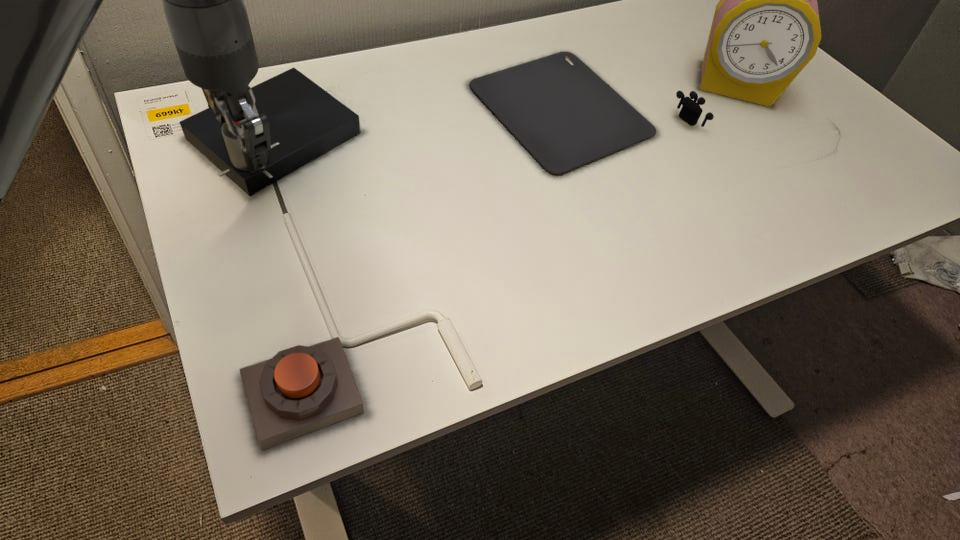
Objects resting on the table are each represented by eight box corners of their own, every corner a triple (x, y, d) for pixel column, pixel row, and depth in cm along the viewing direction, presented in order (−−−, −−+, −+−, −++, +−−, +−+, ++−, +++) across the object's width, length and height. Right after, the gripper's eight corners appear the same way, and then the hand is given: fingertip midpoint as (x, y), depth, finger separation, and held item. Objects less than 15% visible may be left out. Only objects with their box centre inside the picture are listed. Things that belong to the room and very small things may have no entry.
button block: (262, 450, 57) (253, 434, 54) (243, 378, 62) (235, 360, 58) (364, 412, 61) (362, 395, 57) (340, 346, 65) (337, 327, 62)
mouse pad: (660, 134, 91) (661, 132, 91) (552, 178, 83) (553, 176, 83) (568, 50, 101) (568, 49, 101) (465, 82, 93) (465, 81, 93)
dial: (275, 158, 76) (268, 125, 72) (247, 176, 74) (237, 143, 69) (252, 141, 77) (243, 108, 73) (223, 159, 75) (212, 125, 71)
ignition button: (282, 405, 57) (279, 397, 55) (272, 369, 59) (269, 360, 57) (325, 390, 58) (323, 382, 56) (313, 355, 60) (311, 346, 58)
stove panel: (246, 212, 74) (240, 194, 72) (173, 145, 80) (165, 126, 77) (369, 139, 84) (368, 121, 82) (296, 84, 90) (293, 66, 87)
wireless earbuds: (707, 132, 92) (720, 106, 88) (696, 138, 91) (710, 111, 87) (672, 107, 95) (684, 80, 91) (662, 112, 94) (673, 85, 90)
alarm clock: (689, 89, 98) (738, -22, 84) (692, 61, 103) (739, -49, 89) (781, 112, 97) (848, 4, 82) (779, 82, 102) (842, -25, 87)
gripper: (281, 55, 60) (304, 179, 74) (215, -12, 66) (248, 114, 80) (208, 81, 57) (246, 205, 71) (145, 8, 63) (192, 135, 76)
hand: (247, 156), depth 75 cm, fingers closed on dial, 4 cm apart
